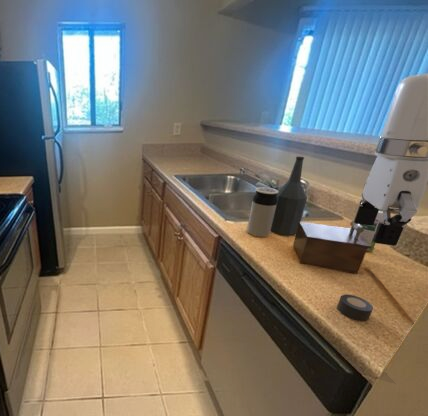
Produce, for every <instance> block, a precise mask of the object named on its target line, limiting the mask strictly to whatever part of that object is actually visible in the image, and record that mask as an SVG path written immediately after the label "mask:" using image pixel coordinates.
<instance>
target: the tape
mask: <svg viewBox="0 0 428 416" xmlns="http://www.w3.org/2000/svg"><path fill="white" fill-rule="evenodd" d="M336 308H337V311H339V312H340V313H341V314H342V315H344V316H345V317H346V318H349V319H352V320H355V321H358V322H366V321H369V320H370V318H371V315H372V313H373V311H374V306H373V305H372V304H371V302H369V301H367V300H366V299H365V298H362V297H360V296H357V295H353V294H342V295H340V297H339V300H338V303H337V305H336Z"/></svg>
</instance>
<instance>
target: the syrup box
mask: <svg viewBox="0 0 428 416" xmlns="http://www.w3.org/2000/svg"><path fill="white" fill-rule="evenodd" d="M380 223H383V211H380V210H379V211H378V214H377V217H376V219H375V222H374V224H373V225H363V224H360V225H361V226H362V227H363V228H364V231H363V232H361V233H360V234H361V236H362V237H363V238H364V239H365V240H366V241H367V242H368V243H369V244H370V245H371V246H372V247H371V249H370V248H367V250H366V252H369V253H373V251H374V248H375V245H376V243H375V242H374V241H373V239H374V237H375V234H376V232H377V229H378V227H379V224H380Z"/></svg>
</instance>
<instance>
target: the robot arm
mask: <svg viewBox="0 0 428 416" xmlns="http://www.w3.org/2000/svg"><path fill="white" fill-rule="evenodd" d="M374 156H376V158H375V160H374V163H373V164H372V167H371V169H370V171H369V174H368V176H367V178H366V181H365V183H364V188H363V191H362V193H361V196H362V198H361V199H360V201H359V205H358V208H357V211H356V214H355V216H354V220H353V221H354V222H355V223H356V224H363V225H373V224H374V222H375V219H376V217H377V214H378V211H379V210H380V211H383V223H380V224H379V227H378V229H377V232H376V234H375V237H374V239H373V241H374V242H375V244H377V245H384V246H385V245H386V246H393V247H394V246H397V244H398V242H399V240H400V237H401V235H402V232H403V230H404V229H405V228H406V227H407V226H408V224H409V223H410V222H411V221H412V218H413V217H414V216H415V215H416V214H417V211H418V209H419V207H420V204H421V202H422V200H423V196H424V193H425V191H426V187H427V185H428V72H427V73H423V74H422V73H420V74H413V75H409V76H407V77H405V78H403V79H402V80H401V81H400V82H399V83H398V86H397V88H396V91H395V93H394V96H393V99H392V102H391V105H390V108H389V110H388V114H387V115H386V120H385V123H384V125H383V129H382V132H381V134H380V137H379V140H378V143H377V145H376V148H375V151H374ZM391 215H393V216H391Z"/></svg>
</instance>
